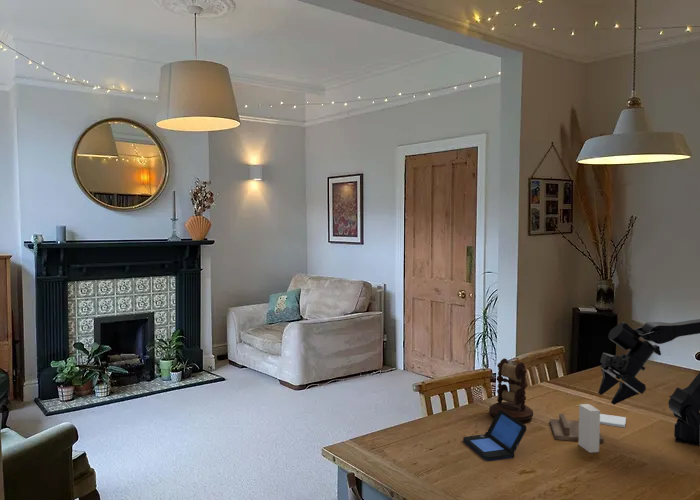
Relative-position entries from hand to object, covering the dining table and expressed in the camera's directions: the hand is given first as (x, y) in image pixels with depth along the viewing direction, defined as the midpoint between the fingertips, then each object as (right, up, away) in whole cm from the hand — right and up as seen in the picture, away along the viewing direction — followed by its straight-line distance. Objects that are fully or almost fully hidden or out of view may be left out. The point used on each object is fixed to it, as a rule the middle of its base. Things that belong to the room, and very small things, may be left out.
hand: (605, 398), depth 176 cm
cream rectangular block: (-7, -14, -5) cm, 16 cm away
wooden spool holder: (-23, -12, +22) cm, 34 cm away
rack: (-6, -13, +8) cm, 16 cm away
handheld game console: (-36, -14, -4) cm, 39 cm away
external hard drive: (+8, -13, +18) cm, 24 cm away
